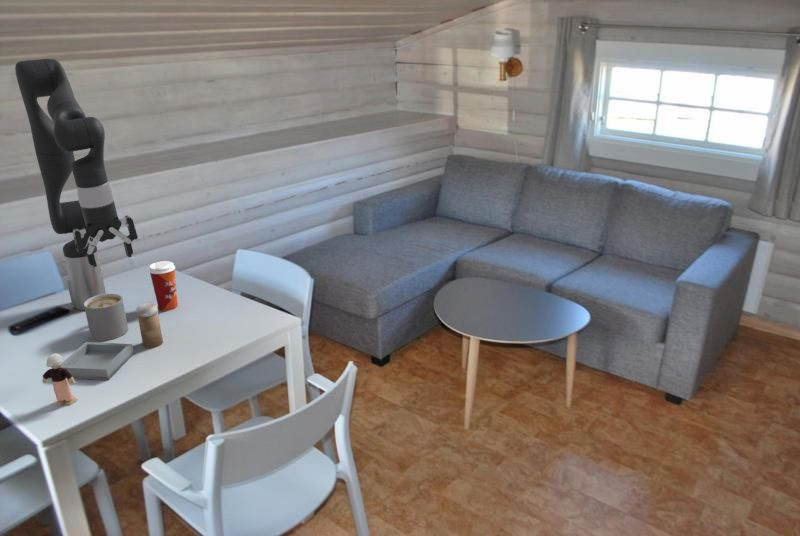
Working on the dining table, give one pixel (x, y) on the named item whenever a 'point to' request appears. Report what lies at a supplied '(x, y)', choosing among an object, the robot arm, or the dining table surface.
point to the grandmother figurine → (59, 380)
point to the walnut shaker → (149, 325)
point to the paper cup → (164, 284)
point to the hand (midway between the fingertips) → (112, 261)
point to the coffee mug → (106, 316)
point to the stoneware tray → (97, 360)
